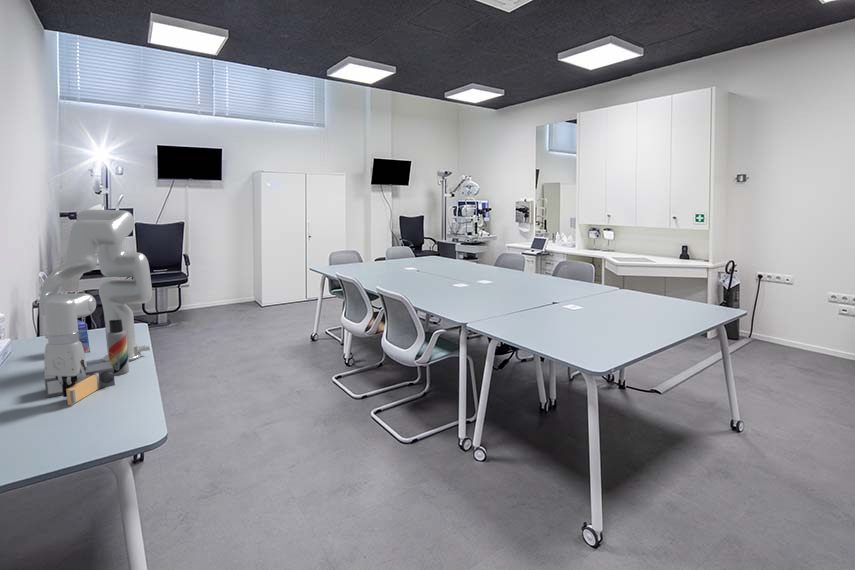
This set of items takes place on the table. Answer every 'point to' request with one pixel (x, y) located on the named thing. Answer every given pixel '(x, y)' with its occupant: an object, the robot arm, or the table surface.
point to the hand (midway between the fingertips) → (69, 395)
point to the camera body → (102, 369)
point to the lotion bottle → (118, 347)
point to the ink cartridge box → (83, 336)
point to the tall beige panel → (83, 389)
